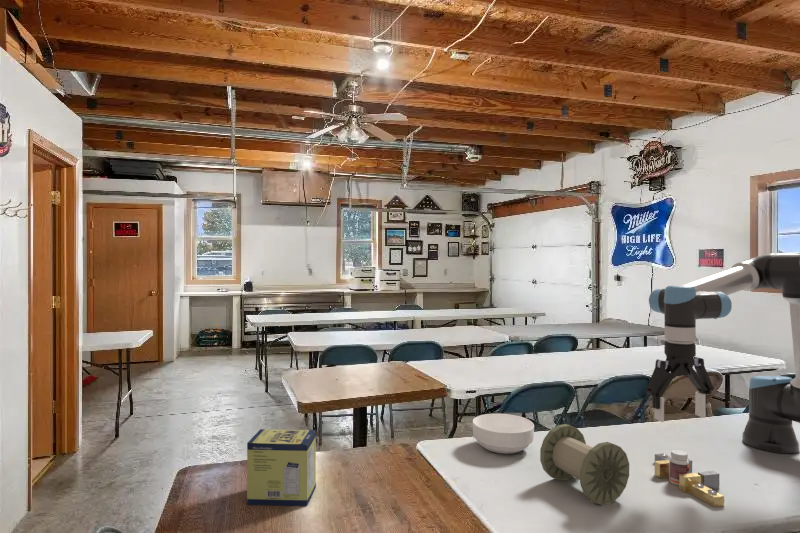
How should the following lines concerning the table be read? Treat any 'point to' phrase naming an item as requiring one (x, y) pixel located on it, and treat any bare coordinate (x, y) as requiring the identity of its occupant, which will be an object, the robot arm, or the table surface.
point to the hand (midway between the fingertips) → (680, 418)
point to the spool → (585, 463)
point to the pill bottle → (678, 465)
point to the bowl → (503, 432)
